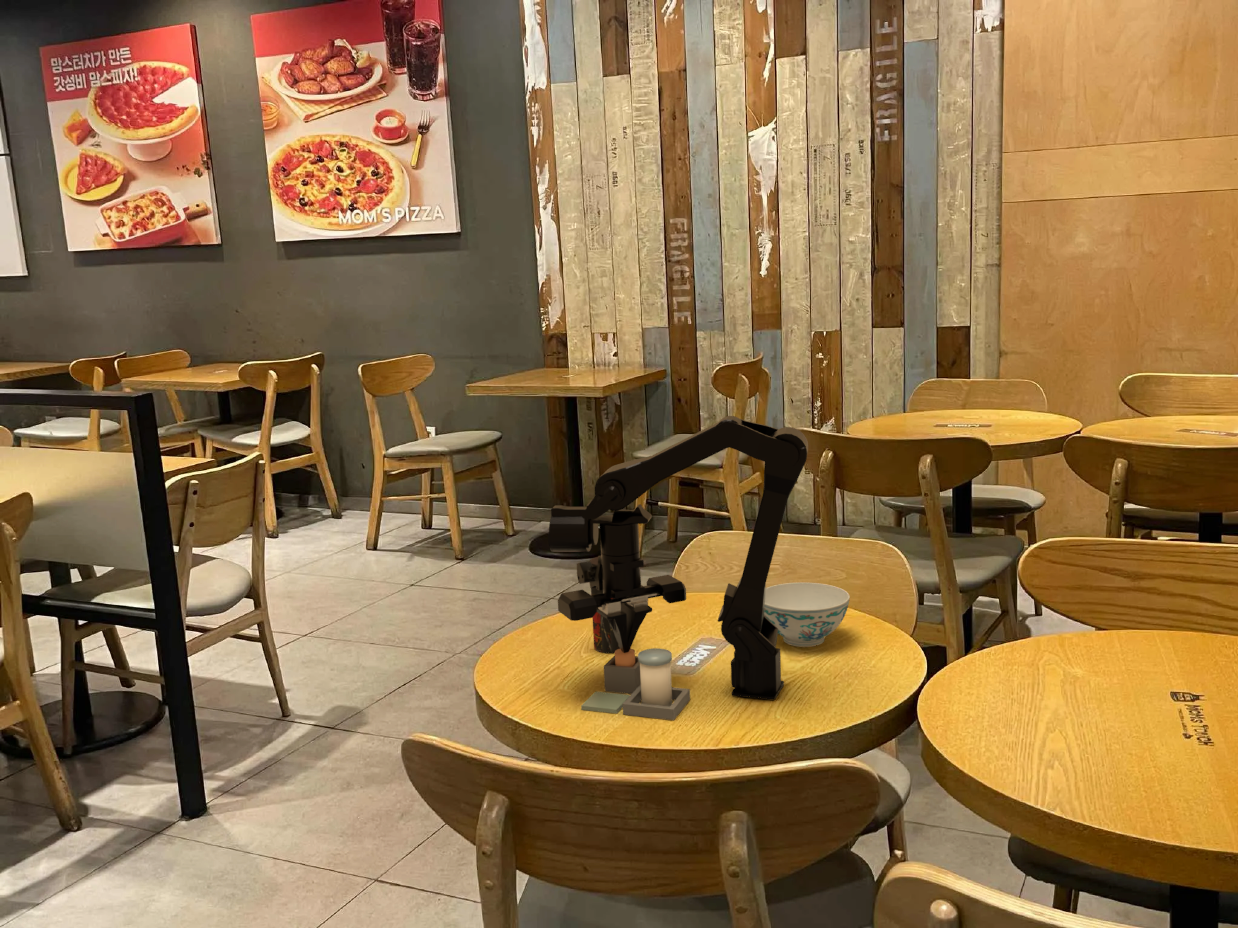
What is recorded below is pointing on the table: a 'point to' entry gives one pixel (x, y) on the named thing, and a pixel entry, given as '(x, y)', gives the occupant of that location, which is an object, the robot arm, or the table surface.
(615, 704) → the coaster
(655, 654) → the cylinder
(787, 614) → the chinaware
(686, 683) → the table surface
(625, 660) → the button
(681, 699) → the socket
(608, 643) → the deodorant
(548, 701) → the table surface
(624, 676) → the box
